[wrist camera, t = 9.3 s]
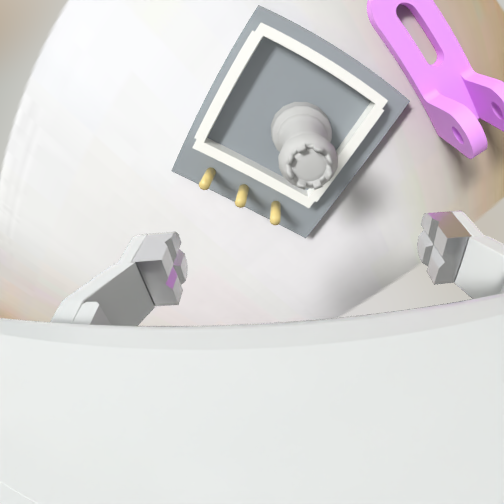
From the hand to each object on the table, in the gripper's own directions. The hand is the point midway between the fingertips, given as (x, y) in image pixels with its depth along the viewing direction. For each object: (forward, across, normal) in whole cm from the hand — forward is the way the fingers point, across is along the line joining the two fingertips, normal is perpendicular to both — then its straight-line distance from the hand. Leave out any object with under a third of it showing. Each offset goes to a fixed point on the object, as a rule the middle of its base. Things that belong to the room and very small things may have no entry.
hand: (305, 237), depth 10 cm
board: (+16, 0, 0) cm, 16 cm away
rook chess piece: (+15, -1, 0) cm, 15 cm away
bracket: (+16, -12, -6) cm, 21 cm away
